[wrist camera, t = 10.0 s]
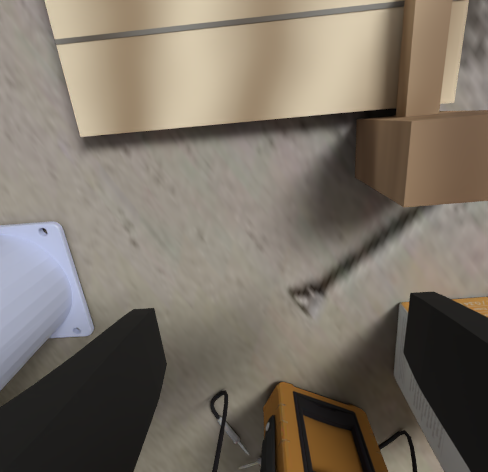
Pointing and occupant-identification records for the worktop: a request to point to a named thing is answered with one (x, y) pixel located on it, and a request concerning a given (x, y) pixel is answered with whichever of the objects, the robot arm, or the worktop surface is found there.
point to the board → (232, 59)
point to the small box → (417, 402)
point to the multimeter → (312, 435)
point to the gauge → (424, 125)
